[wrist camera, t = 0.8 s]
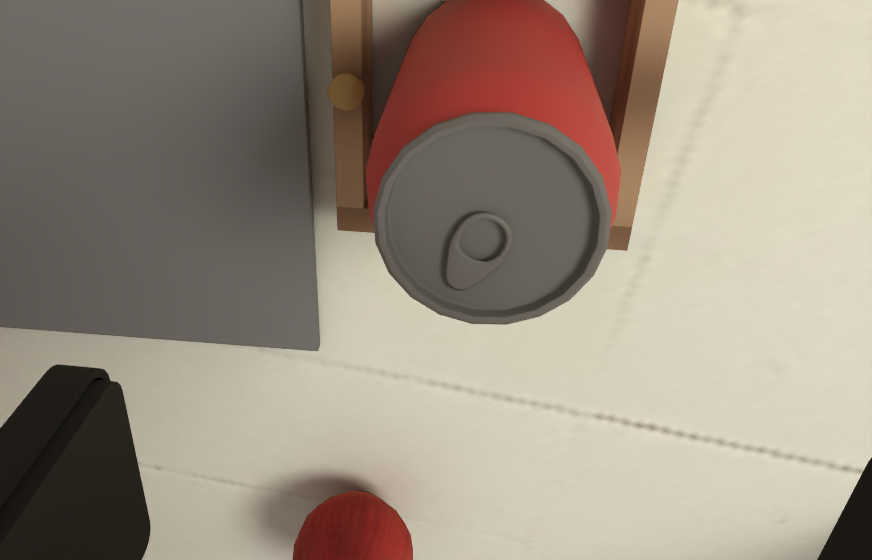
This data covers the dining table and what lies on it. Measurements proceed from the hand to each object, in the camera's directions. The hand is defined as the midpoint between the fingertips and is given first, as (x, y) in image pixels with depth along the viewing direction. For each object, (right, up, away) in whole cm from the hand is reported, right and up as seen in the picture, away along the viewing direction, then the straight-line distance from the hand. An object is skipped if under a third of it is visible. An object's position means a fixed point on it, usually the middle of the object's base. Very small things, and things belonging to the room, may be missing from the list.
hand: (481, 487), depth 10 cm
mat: (-15, +10, +20) cm, 26 cm away
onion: (-4, -9, +30) cm, 32 cm away
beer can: (+2, +10, +18) cm, 21 cm away
